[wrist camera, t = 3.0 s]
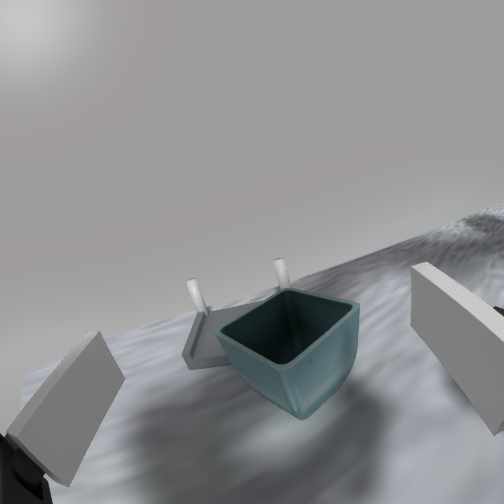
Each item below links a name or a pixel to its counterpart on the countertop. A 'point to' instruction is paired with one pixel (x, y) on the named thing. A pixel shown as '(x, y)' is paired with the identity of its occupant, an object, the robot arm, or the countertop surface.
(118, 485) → the countertop surface
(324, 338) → the flower pot
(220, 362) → the tray
